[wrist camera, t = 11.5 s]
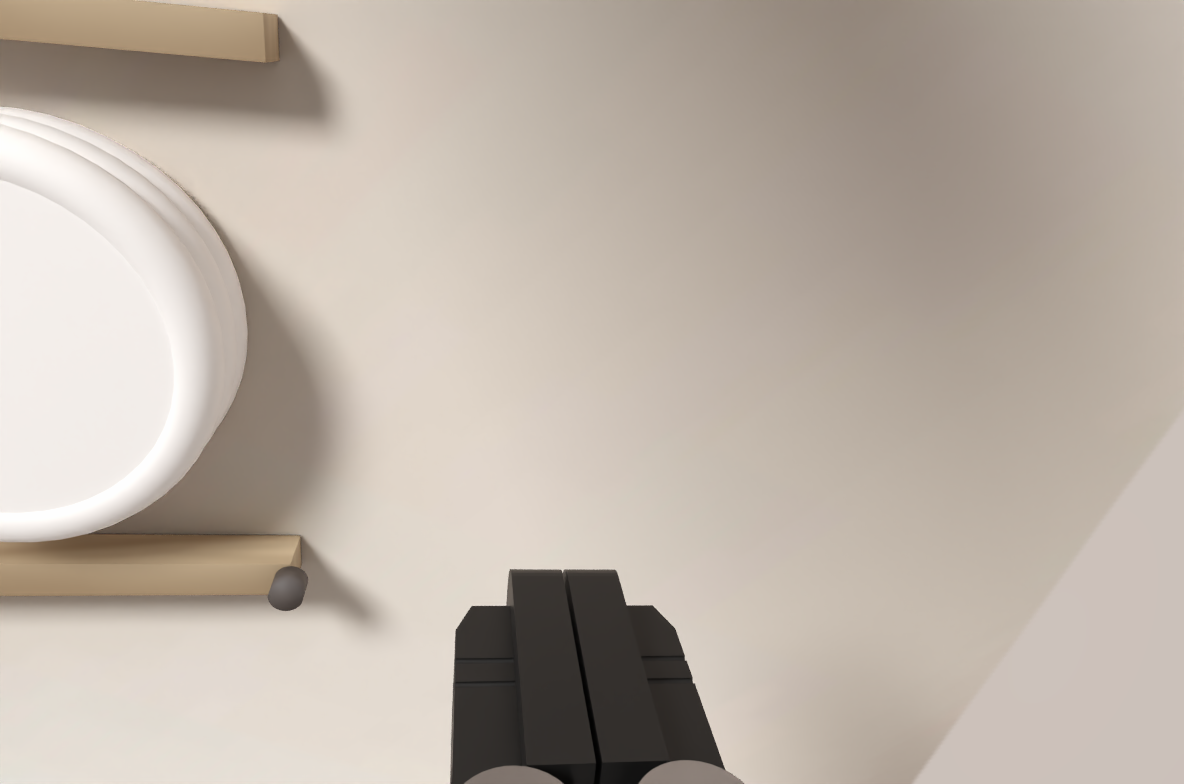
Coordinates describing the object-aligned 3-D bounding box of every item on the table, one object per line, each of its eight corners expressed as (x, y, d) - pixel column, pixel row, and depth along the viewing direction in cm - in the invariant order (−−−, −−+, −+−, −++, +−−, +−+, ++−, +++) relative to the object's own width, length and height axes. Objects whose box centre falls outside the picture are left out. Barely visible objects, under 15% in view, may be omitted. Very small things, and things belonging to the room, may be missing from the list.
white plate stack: (-115, 18, 19) (-235, 14, 16) (314, 230, 22) (286, 263, 19) (-220, 389, 22) (-340, 450, 18) (173, 533, 25) (129, 608, 21)
